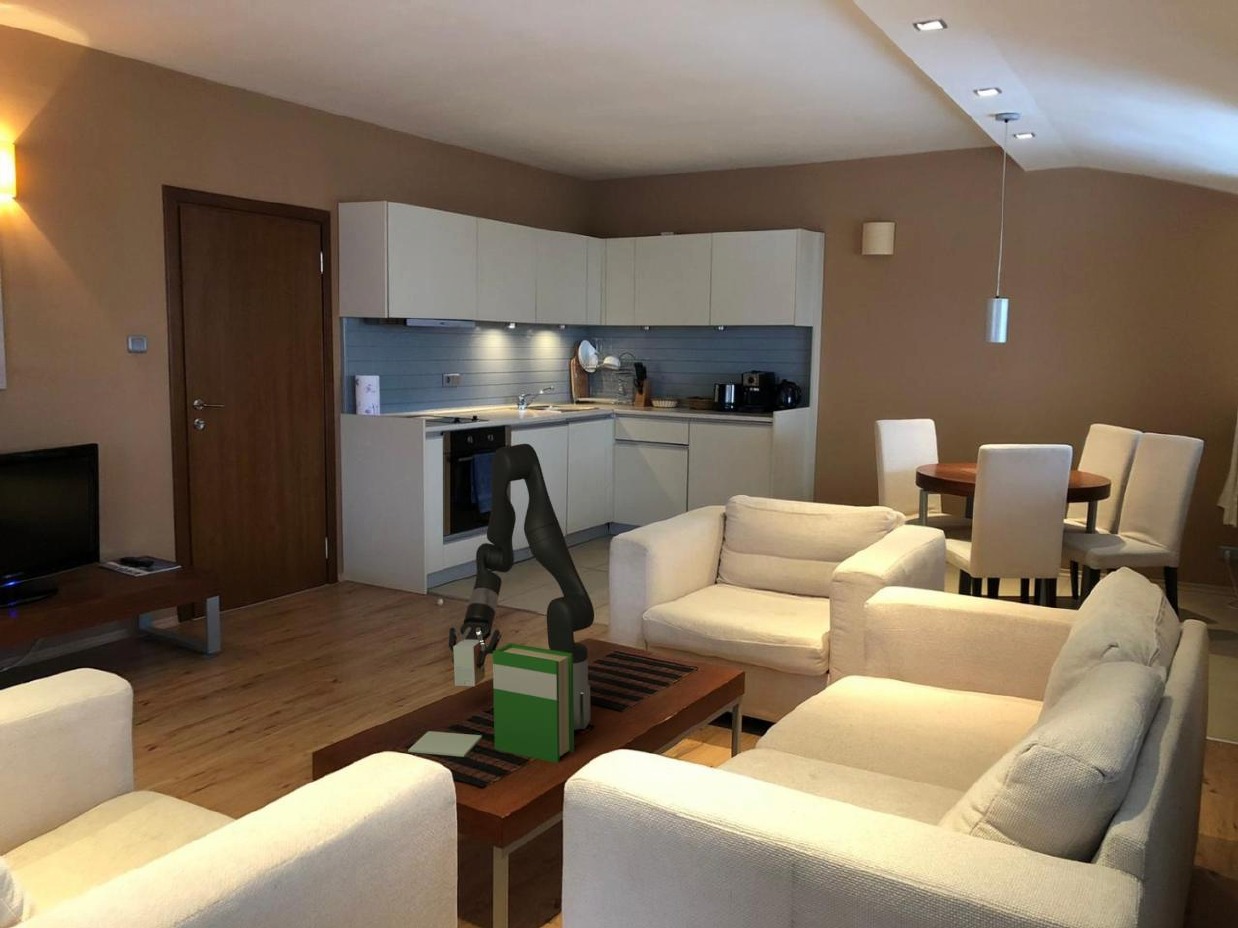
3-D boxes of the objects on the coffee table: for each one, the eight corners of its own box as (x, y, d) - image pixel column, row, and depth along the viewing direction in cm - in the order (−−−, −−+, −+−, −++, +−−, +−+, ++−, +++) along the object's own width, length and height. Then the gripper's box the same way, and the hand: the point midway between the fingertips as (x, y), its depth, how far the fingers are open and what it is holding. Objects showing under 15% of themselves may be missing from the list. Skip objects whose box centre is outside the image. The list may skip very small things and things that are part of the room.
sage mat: (481, 737, 247) (481, 735, 247) (463, 756, 235) (463, 754, 235) (428, 733, 250) (428, 731, 250) (408, 751, 238) (408, 749, 238)
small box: (475, 687, 256) (473, 646, 255) (454, 686, 257) (452, 646, 256) (485, 677, 264) (484, 638, 263) (465, 676, 265) (463, 637, 264)
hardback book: (573, 751, 238) (573, 653, 235) (557, 763, 232) (556, 661, 229) (512, 738, 246) (510, 643, 244) (494, 748, 240) (492, 651, 237)
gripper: (452, 600, 267) (436, 657, 257) (503, 602, 264) (489, 660, 254) (460, 615, 273) (445, 671, 262) (510, 617, 270) (497, 674, 259)
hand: (467, 665), depth 258 cm, fingers closed on small box, 5 cm apart
